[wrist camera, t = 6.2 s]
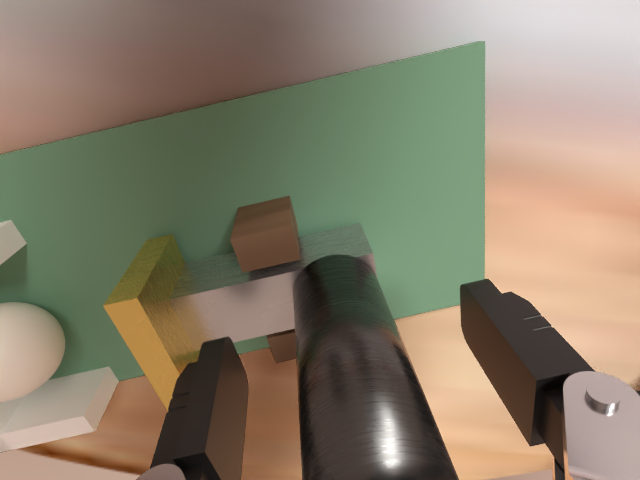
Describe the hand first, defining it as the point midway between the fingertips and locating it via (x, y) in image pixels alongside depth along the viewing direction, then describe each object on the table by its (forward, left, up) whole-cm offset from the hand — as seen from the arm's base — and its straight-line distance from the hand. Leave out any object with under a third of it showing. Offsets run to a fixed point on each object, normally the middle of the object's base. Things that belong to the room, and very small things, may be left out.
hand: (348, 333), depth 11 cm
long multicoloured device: (0, -3, -5) cm, 5 cm away
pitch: (-1, -4, -5) cm, 7 cm away
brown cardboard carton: (0, -2, -5) cm, 6 cm away
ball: (0, -13, -3) cm, 13 cm away
